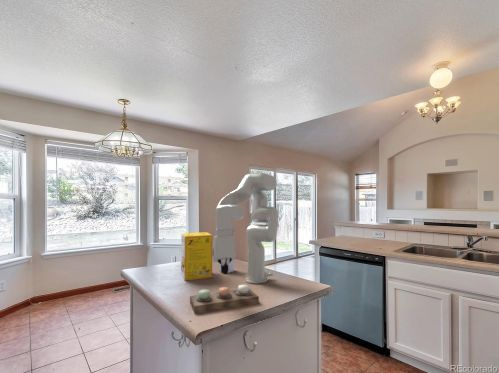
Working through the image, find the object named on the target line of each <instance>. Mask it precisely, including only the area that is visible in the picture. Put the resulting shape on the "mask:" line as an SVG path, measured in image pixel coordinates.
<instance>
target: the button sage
mask: <svg viewBox="0 0 499 373" xmlns="http://www.w3.org/2000/svg"><path fill="white" fill-rule="evenodd" d="M197 293H198V294H197V295H198V298H199V299H207V298H209V297H210V290H209V289H204V288H203V289H201V290H198V292H197Z"/></svg>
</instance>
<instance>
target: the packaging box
mask: <svg viewBox="0 0 499 373" xmlns="http://www.w3.org/2000/svg"><path fill="white" fill-rule="evenodd" d="M180 235H181V238H180V240H181V242H180V243H181V244H180V245H181V246H180V251H181V252H180V254H181V255H180V275H181V276H182V279H183V281H191V280H202V279H209V278H213V235H212V234H211V233H209V232H207V231H206V232H204V231H203V232H187V233H186V232H185V233H183V232H182V233H181V234H180Z"/></svg>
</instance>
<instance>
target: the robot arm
mask: <svg viewBox="0 0 499 373" xmlns="http://www.w3.org/2000/svg"><path fill="white" fill-rule="evenodd" d="M277 184H278V182H277V179H276V177H275V176H273V175H271V174H268V173H264V172H254V173H252V172H251V173H247V174H246V175H244V177H243V178H242V180H241V181H240V183H239V185H238V187H237V188H236V189H235V190H233V191H231V192H229V193H228V194H226V195H225V196H223V197H222V199H221V200H220V201H219V203H218V205H217V206H216V208H215V235H214V236H213V239H212V262H214V263H218V264H219V265H220V264H221V272H220V273H221V274H223V275H228V273H227V272H228V265H229V263H230V262H231V261H232V260H234V261H235V260H236V259H237V257H236V256H237V250H236V247H237V246H236V241H235V235H234V234H235V233H236V230H235V229H234V228H233V221H240V220H242V219H243V218H244V217H245V208H244V207H243V206H242V205H240V204H242V203H244V202H247V201H249V200H250V198H251V197H252V199H253V201H252V208H251V217H250V218H251V221H252V222H254V223H257V224H250V225H248V226H247V228H246V230H245V235H246V240H247V276H246V277H245V279H244V280H245V282H247V283H249V284H254V285H255V284H256V285H257V284H258V285H259V284H265V283H267V282H268V280H269V279H268V277H273V275H274V274H273V272H268V271H267V272H266V269H265V268H266V266H265V265H266V264H265V263H266V261H265V260H266V259H265V257H266V255H265V254H266V253H265V252H266V251H265V247H264V244H263V242H264V243H274V242H275V241H276V239H277V235H278V225H279V224H278V223H279V211H278V209H277V208H276V207H275V206H268V197H267V196H266V194H265V191H274V190H275V189H276V188H277ZM258 223H260V224H258ZM223 259H225V264H224V260H223Z"/></svg>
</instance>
